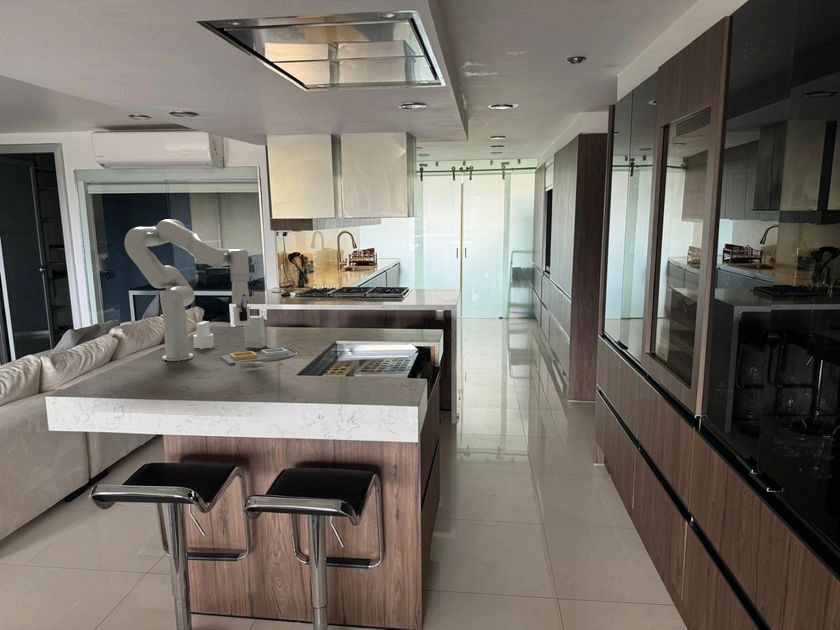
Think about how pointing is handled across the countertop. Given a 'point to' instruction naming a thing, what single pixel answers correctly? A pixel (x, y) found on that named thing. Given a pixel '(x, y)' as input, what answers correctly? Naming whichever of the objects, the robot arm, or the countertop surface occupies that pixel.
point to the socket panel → (256, 355)
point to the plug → (237, 318)
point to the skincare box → (254, 333)
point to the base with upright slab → (203, 336)
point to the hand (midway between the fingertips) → (242, 319)
